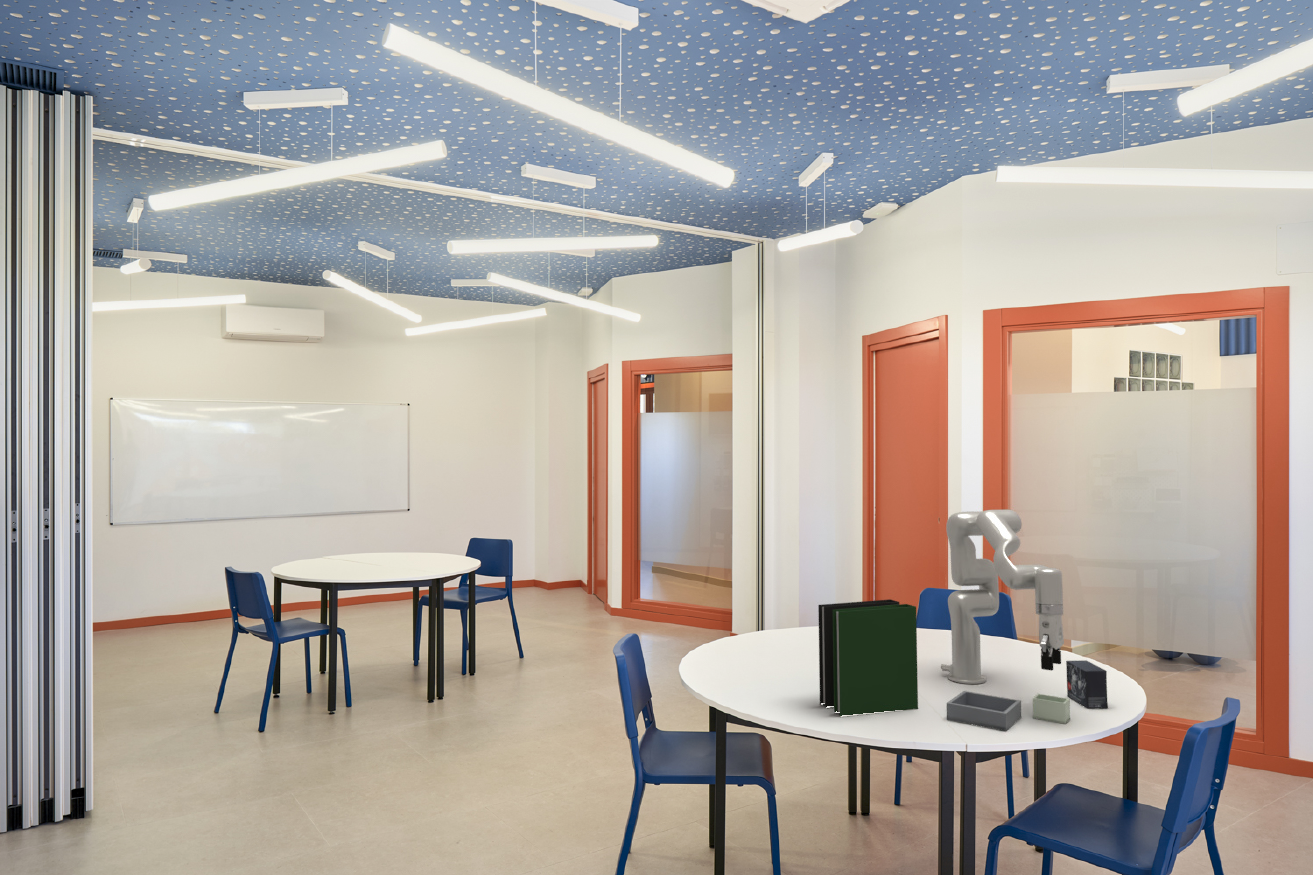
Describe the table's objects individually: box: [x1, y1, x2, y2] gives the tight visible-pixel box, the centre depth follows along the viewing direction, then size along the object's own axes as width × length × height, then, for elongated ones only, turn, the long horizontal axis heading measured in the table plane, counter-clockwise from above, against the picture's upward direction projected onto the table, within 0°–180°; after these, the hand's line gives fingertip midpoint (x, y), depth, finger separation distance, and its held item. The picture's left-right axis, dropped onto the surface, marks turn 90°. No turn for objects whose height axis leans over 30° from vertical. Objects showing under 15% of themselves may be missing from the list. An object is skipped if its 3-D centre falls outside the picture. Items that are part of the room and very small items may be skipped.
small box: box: [1065, 659, 1109, 710], centre depth 257 cm, size 13×7×12 cm, turn 178°
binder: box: [817, 598, 919, 717], centre depth 255 cm, size 27×15×32 cm, turn 107°
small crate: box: [1032, 693, 1071, 725], centre depth 241 cm, size 9×6×6 cm, turn 51°
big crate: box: [946, 690, 1022, 732], centre depth 242 cm, size 17×16×5 cm
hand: (1051, 666), depth 241 cm, fingers open, 9 cm apart
